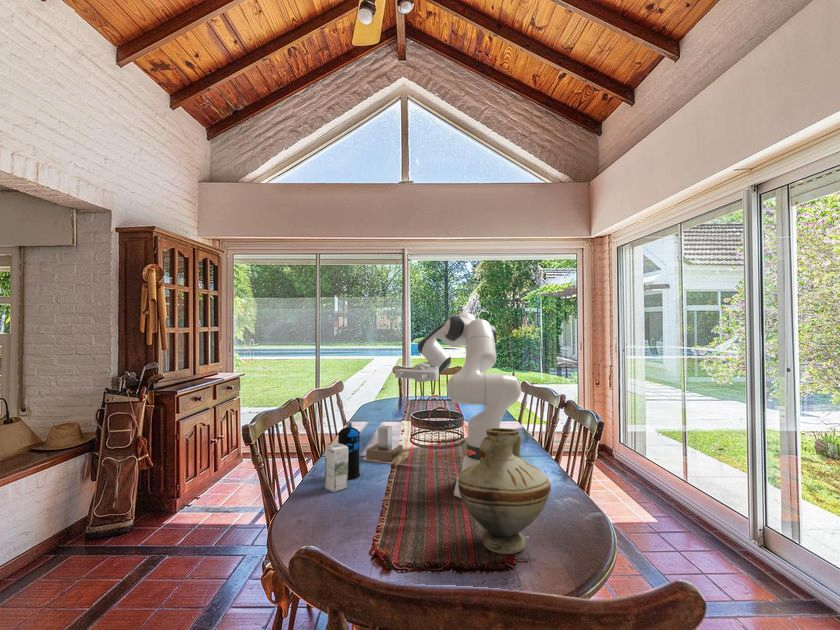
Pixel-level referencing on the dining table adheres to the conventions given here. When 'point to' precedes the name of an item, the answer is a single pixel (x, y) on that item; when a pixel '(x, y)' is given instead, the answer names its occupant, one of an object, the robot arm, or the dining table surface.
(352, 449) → the aerosol can
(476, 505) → the amphora
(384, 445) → the bar
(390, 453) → the keeper
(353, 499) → the dining table surface
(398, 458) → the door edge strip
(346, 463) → the syrup box
